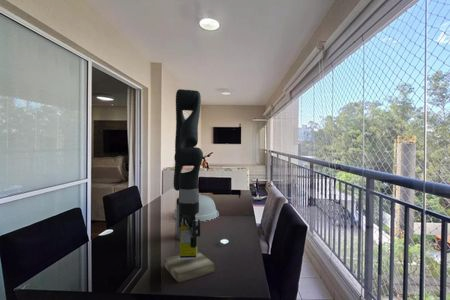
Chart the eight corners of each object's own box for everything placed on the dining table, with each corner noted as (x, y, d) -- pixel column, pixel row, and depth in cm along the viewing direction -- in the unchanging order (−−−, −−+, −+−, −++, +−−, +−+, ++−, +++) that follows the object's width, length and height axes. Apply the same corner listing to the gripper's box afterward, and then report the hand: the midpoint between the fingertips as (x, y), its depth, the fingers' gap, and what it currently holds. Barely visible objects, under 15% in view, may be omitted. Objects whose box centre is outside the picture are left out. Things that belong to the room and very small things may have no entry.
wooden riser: (164, 266, 95) (164, 258, 95) (197, 258, 103) (197, 250, 103) (178, 282, 83) (178, 273, 83) (214, 271, 91) (214, 263, 91)
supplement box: (197, 251, 96) (197, 223, 96) (196, 258, 90) (196, 227, 90) (181, 251, 96) (181, 223, 96) (179, 258, 90) (179, 228, 90)
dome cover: (223, 212, 182) (223, 193, 182) (213, 223, 152) (213, 201, 152) (182, 210, 188) (182, 191, 188) (165, 220, 159) (165, 198, 159)
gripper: (172, 198, 97) (172, 240, 97) (187, 204, 85) (187, 252, 85) (190, 196, 101) (190, 236, 101) (206, 202, 89) (206, 247, 89)
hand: (188, 243), depth 93 cm, fingers closed on supplement box, 8 cm apart
